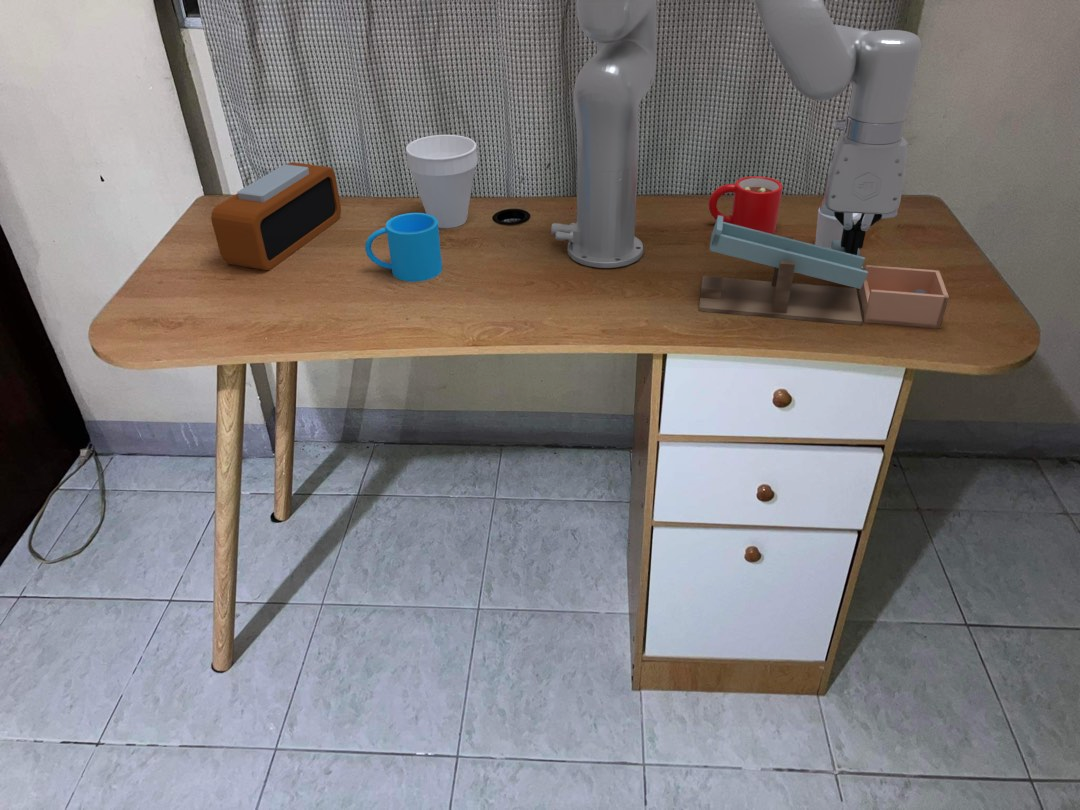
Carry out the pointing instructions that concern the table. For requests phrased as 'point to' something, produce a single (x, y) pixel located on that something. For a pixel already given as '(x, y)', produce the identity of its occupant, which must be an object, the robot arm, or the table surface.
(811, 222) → the table surface
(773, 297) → the launcher base
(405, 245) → the mug
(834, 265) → the lever
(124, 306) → the table surface
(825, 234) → the white cylinder
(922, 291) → the ball
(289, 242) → the alarm clock
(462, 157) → the white flower pot
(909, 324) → the pink open box
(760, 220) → the mug
